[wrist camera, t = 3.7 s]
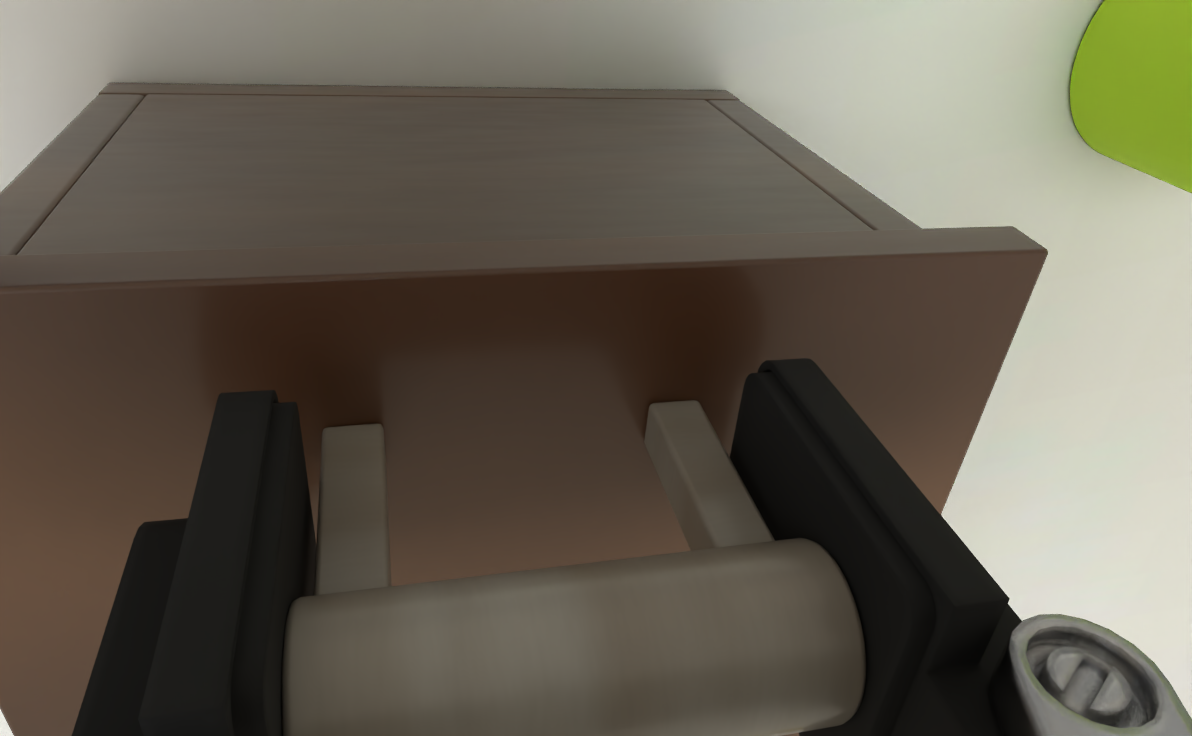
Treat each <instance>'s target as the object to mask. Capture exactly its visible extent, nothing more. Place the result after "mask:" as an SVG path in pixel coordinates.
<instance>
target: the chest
mask: <svg viewBox="0 0 1192 736" xmlns="http://www.w3.org/2000/svg"><path fill="white" fill-rule="evenodd" d="M901 229H921V228H920V227H919V226H917V225H916V224H914V223H913V222H911V221H910V220H909V219H907V218H906V217H904V216H903V215H901V214H900V213H899V212H897V211H896V210H894V209H893V208H892V207H890V206H889V205H887V204H886V203H884V202H883V201H882V200H880V199H879V198H877V197H876V196H875V195H873V194H872V193H870V192H869V191H867V190H866V189H865V188H863V187H862V186H860V185H859V184H857V183H856V182H855V181H853V180H852V179H850V178H849V177H848V176H846V175H845V174H843V173H842V172H840V171H839V170H838V169H836V168H835V167H833V166H832V165H830V164H829V163H828V162H826V161H825V160H823V159H822V158H821V157H819V156H818V155H816V154H815V153H813V152H812V151H811V150H809V149H808V148H806V147H805V146H804V145H802V144H801V143H799V142H798V141H796V140H795V139H794V138H792V137H791V136H789V135H788V134H786V133H785V132H784V131H782V130H781V129H779V128H778V127H777V126H775V125H774V124H772V123H771V122H769V121H768V120H767V119H765V118H764V117H762V116H761V115H760V114H758V113H757V112H755V111H754V110H752V109H751V108H750V107H748V106H747V105H745V104H744V103H742V102H741V101H740V100H739V99H738V98H736V97H735V96H734V95H732V94H731V93H729V92H728V91H721V90H641V89H561V88H482V87H402V86H322V85H242V84H163V83H109V84H107V85H106V86H105V87H104V88H103V89H102V90H101V91H100V92H99V94H98V96H97V97H96V98H95V99H94V100H93V101H92V102H91V103H90V104H89V105H88V106H87V107H86V108H85V109H84V110H83V111H82V112H81V113H80V114H79V115H78V116H77V117H76V118H75V119H74V120H73V121H72V122H71V123H70V124H69V125H68V126H67V127H66V128H65V129H64V130H63V131H62V132H61V133H60V134H59V135H58V136H57V137H56V138H55V139H54V140H53V141H52V142H51V143H50V144H49V145H48V146H47V147H46V148H45V149H44V150H43V151H42V152H41V153H40V154H39V155H38V156H37V157H36V158H35V159H34V160H33V161H32V162H31V163H30V164H29V165H28V166H27V167H26V168H25V169H24V170H23V171H22V172H21V173H20V174H19V175H18V176H17V177H16V178H15V179H14V180H13V181H12V182H11V183H10V184H9V185H8V186H7V187H6V188H5V189H4V190H3V191H2V192H1V193H0V255H34V254H69V253H103V252H138V251H173V250H207V249H242V248H277V247H311V246H346V245H381V244H415V243H450V242H485V241H519V240H554V239H589V238H623V237H658V236H693V235H727V234H762V233H797V232H831V231H866V230H901Z"/></svg>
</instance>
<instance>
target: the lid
mask: <svg viewBox="0 0 1192 736" xmlns="http://www.w3.org/2000/svg"><path fill="white" fill-rule="evenodd" d="M1047 255H1048V251H1047V249H1045V248H1044V247H1042V246H1041V245H1039V244H1038V243H1037V242H1035V241H1034V240H1032V239H1031V238H1029V237H1028V236H1026V235H1025V234H1023V233H1022V232H1021V231H1019V230H1018V229H1016V228H1015V227H1013V226H1005V227H970V228H935V229H901V230H866V231H831V232H797V233H762V234H727V235H693V236H658V237H623V238H589V239H554V240H519V241H485V242H450V243H415V244H381V245H346V246H311V247H277V248H242V249H207V250H173V251H138V252H103V253H69V254H34V255H0V709H1V711H2V713H3V715H4V717H5V719H6V721H7V723H8V725H9V727H10V729H11V731H12V733H13V735H14V736H72V733H73V730H74V727H75V723H76V720H77V717H78V714H79V711H80V708H81V704H82V701H83V698H84V695H85V692H86V689H87V685H88V682H89V679H90V676H91V673H92V669H93V666H94V663H95V660H96V657H97V654H98V650H99V647H100V644H101V641H102V638H103V635H104V631H105V628H106V625H107V622H108V619H109V616H110V612H111V609H112V606H113V603H114V600H115V596H116V593H117V590H118V587H119V584H120V581H121V577H122V574H123V571H124V568H125V565H126V562H127V558H128V555H129V552H130V549H131V546H132V543H133V539H134V537H135V535H136V532H137V530H138V528H139V527H140V526H141V525H142V524H143V523H144V522H151V521H162V520H173V519H184V518H188V516H189V512H190V508H191V504H192V500H193V496H194V492H195V487H196V483H197V479H198V475H199V471H200V467H201V463H202V459H203V455H204V451H205V447H206V443H207V439H208V435H209V431H210V427H211V423H212V419H213V415H214V411H215V407H216V403H217V399H218V396H219V394H221V393H230V392H247V391H263V390H275V391H276V394H277V397H278V402H279V403H284V402H296V403H297V406H298V411H299V418H300V426H301V433H302V441H303V448H304V456H305V463H306V471H307V478H308V486H309V493H310V500H311V508H312V515H313V523H314V530H315V538H316V562H315V582H314V596H305V597H300V598H298V599H296V600H294V601H293V602H292V603H291V606H290V608H289V611H288V615H287V620H286V626H285V633H284V643H283V659H282V734H283V736H799V733H800V732H806V731H811V730H817V729H823V728H828V727H834V726H839V725H842V724H844V723H845V722H847V721H848V720H849V719H851V718H852V717H853V716H854V715H855V713H856V712H857V710H858V708H859V706H860V704H861V701H862V698H863V694H864V689H865V680H866V652H865V644H864V636H863V631H862V625H861V621H860V617H859V613H858V610H857V607H856V603H855V600H854V597H853V595H852V592H851V590H850V587H849V585H848V583H847V581H846V578H845V576H844V575H843V573H842V571H841V569H840V567H839V566H838V564H837V563H836V561H835V560H834V559H833V557H832V556H831V555H830V554H829V553H828V551H827V550H825V549H824V548H823V547H822V546H821V545H819V544H818V543H816V542H814V541H811V540H808V539H805V538H794V539H786V540H778V541H775V540H774V538H773V536H772V534H771V532H770V530H769V529H768V527H767V525H766V523H765V521H764V519H763V518H762V516H761V514H760V512H759V510H758V509H757V507H756V505H755V503H754V501H753V499H752V498H751V496H750V494H749V492H748V490H747V488H746V487H745V485H744V483H743V481H742V479H741V478H740V476H739V474H738V472H737V470H736V468H735V467H734V465H733V463H732V461H731V459H730V453H731V448H732V443H733V438H734V433H735V428H736V423H737V417H738V412H739V407H740V402H741V397H742V392H743V387H744V383H745V380H746V378H747V376H748V375H749V374H751V373H757V372H758V369H759V367H760V365H761V364H762V363H763V362H765V361H766V360H783V359H800V358H808V359H811V360H813V361H814V362H815V363H816V364H817V365H818V367H819V368H820V369H821V370H822V371H823V373H824V374H825V375H826V376H827V378H828V379H829V380H830V381H831V382H832V384H833V385H834V386H835V387H836V388H837V390H838V391H839V392H840V393H841V395H842V396H843V397H844V398H845V399H846V401H847V402H848V403H849V404H850V405H851V407H852V408H853V409H854V410H855V412H856V413H857V414H858V415H859V416H860V418H861V419H862V420H863V421H864V422H865V424H866V425H867V426H868V427H869V429H870V430H871V431H872V432H873V433H874V435H875V436H876V437H877V438H878V440H879V441H880V442H881V443H882V444H883V446H884V447H885V448H886V449H887V450H888V452H889V453H890V454H891V455H892V457H893V458H894V459H895V460H896V461H897V463H898V464H899V465H900V466H901V467H902V469H903V470H904V471H905V472H906V474H907V475H908V476H909V477H910V478H911V480H912V481H913V482H914V483H915V484H916V486H917V487H918V488H919V489H920V491H921V492H922V493H923V494H924V495H925V497H926V498H927V499H928V500H929V502H930V503H931V504H932V505H933V506H934V508H935V509H936V510H937V511H938V512H939V514H940V515H941V513H942V511H943V508H944V506H945V503H946V501H947V498H948V496H949V494H950V491H951V489H952V486H953V484H954V481H955V479H956V477H957V474H958V472H959V469H960V467H961V464H962V462H963V459H964V457H965V455H966V452H967V450H968V447H969V445H970V442H971V440H972V437H973V435H974V433H975V430H976V428H977V425H978V423H979V420H980V418H981V416H982V413H983V411H984V408H985V406H986V403H987V401H988V398H989V396H990V394H991V391H992V389H993V386H994V384H995V381H996V379H997V377H998V374H999V372H1000V369H1001V367H1002V364H1003V362H1004V359H1005V357H1006V355H1007V352H1008V350H1009V347H1010V345H1011V342H1012V340H1013V337H1014V335H1015V333H1016V330H1017V328H1018V325H1019V323H1020V320H1021V318H1022V316H1023V313H1024V311H1025V308H1026V306H1027V303H1028V301H1029V298H1030V296H1031V294H1032V291H1033V289H1034V286H1035V284H1036V281H1037V279H1038V277H1039V274H1040V272H1041V269H1042V267H1043V264H1044V262H1045V259H1046V257H1047Z"/></svg>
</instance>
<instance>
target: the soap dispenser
mask: <svg viewBox="0 0 1192 736" xmlns="http://www.w3.org/2000/svg"><path fill="white" fill-rule="evenodd" d="M1070 105H1071V112H1072V116H1073V120H1074V123H1075V125H1076V128H1077V130H1078V132H1079V134H1080V135H1081V137H1082V138H1083V139H1084V141H1085V142H1086V143H1087V144H1088V145H1089V146H1090V147H1091V148H1093V149H1094V150H1095V151H1097V152H1099V153H1100V154H1102V155H1105V156H1107V157H1109V158H1112V159H1114V160H1116V161H1119V162H1121V163H1123V164H1125V165H1128V166H1130V167H1132V168H1135V169H1137V170H1139V171H1142V172H1144V173H1146V174H1149V175H1151V176H1153V177H1155V178H1158V179H1160V180H1162V181H1165V182H1167V183H1169V184H1172V185H1174V186H1176V187H1179V188H1181V189H1183V190H1185V191H1188V192H1190V193H1192V0H1104V2H1103V3H1102V5H1101V6H1100V8H1099V9H1098V11H1097V12H1096V14H1095V15H1094V17H1093V19H1092V21H1091V22H1090V24H1089V26H1088V28H1087V30H1086V32H1085V34H1084V37H1083V39H1082V41H1081V44H1080V46H1079V49H1078V52H1077V55H1076V58H1075V62H1074V66H1073V70H1072V76H1071V84H1070Z"/></svg>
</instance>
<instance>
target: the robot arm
mask: <svg viewBox="0 0 1192 736" xmlns="http://www.w3.org/2000/svg"><path fill="white" fill-rule="evenodd" d="M730 459H731V461H732V463H733V465H734V467H735V468H736V470H737V472H738V474H739V476H740V478H741V479H742V481H743V483H744V485H745V487H746V488H747V490H748V492H749V494H750V496H751V498H752V499H753V501H754V503H755V505H756V507H757V509H758V510H759V512H760V514H761V516H762V518H763V519H764V521H765V523H766V525H767V527H768V529H769V530H770V532H771V534H772V536H773V538H774V540H775V541H778V540H786V539H794V538H805V539H808V540H811V541H814V542H816V543H818V544H819V545H821V546H822V547H823V548H824V549H825V550H827V551H828V553H829V554H830V555H831V556H832V557H833V559H834V560H835V561H836V563H837V564H838V566H839V567H840V569H841V571H842V573H843V575H844V576H845V578H846V581H847V583H848V585H849V587H850V590H851V592H852V595H853V597H854V600H855V603H856V607H857V610H858V613H859V617H860V621H861V625H862V631H863V636H864V644H865V652H866V680H865V689H864V694H863V698H862V701H861V704H860V706H859V708H858V710H857V712H856V713H855V715H854V716H853V717H852V718H851V719H849V720H848V721H847V722H845V723H844V724H842V725H839V726H834V727H828V728H823V729H817V730H811V731H806V732H800V733H799V736H1192V719H1191V717H1190V716H1189V714H1188V712H1187V711H1186V709H1185V707H1184V706H1183V704H1182V702H1181V701H1180V699H1179V697H1178V696H1177V694H1176V692H1175V691H1174V689H1173V687H1172V686H1171V684H1170V682H1169V681H1168V680H1167V679H1166V677H1165V676H1164V675H1163V673H1162V672H1161V671H1160V669H1159V668H1158V667H1157V666H1156V664H1155V663H1154V662H1153V661H1152V660H1151V659H1150V658H1148V657H1147V656H1146V655H1145V654H1144V653H1143V652H1142V651H1140V650H1139V649H1138V648H1137V647H1136V646H1135V645H1134V644H1132V643H1130V642H1129V641H1127V640H1126V639H1124V638H1122V637H1121V636H1119V635H1117V634H1116V633H1114V632H1113V631H1111V630H1109V629H1107V628H1104V627H1102V626H1100V625H1097V624H1095V623H1092V622H1090V621H1087V620H1085V619H1081V618H1076V617H1071V616H1066V615H1062V614H1048V615H1037V616H1034V617H1031V618H1029V619H1026V620H1023V621H1021V620H1020V618H1019V617H1018V616H1017V615H1016V613H1015V612H1014V611H1013V610H1012V608H1011V607H1010V606H1009V605H1008V604H1007V603H1008V601H1009V598H1008V596H1007V595H1006V594H1005V593H1004V591H1003V590H1002V589H1001V588H1000V587H999V585H998V584H997V583H996V582H995V581H994V579H993V578H992V577H991V576H990V574H989V573H988V572H987V571H986V570H985V568H984V567H983V566H982V565H981V563H980V562H979V561H978V560H977V559H976V557H975V556H974V555H973V554H972V553H971V551H970V550H969V549H968V548H967V546H966V545H965V544H964V543H963V542H962V540H961V539H960V538H959V537H958V536H957V534H956V533H955V532H954V531H953V529H952V528H951V527H950V526H949V525H948V523H947V522H946V521H945V520H944V519H943V517H942V516H941V515H940V514H939V512H938V511H937V510H936V509H935V508H934V506H933V505H932V504H931V503H930V502H929V500H928V499H927V498H926V497H925V495H924V494H923V493H922V492H921V491H920V489H919V488H918V487H917V486H916V484H915V483H914V482H913V481H912V480H911V478H910V477H909V476H908V475H907V474H906V472H905V471H904V470H903V469H902V467H901V466H900V465H899V464H898V463H897V461H896V460H895V459H894V458H893V457H892V455H891V454H890V453H889V452H888V450H887V449H886V448H885V447H884V446H883V444H882V443H881V442H880V441H879V440H878V438H877V437H876V436H875V435H874V433H873V432H872V431H871V430H870V429H869V427H868V426H867V425H866V424H865V422H864V421H863V420H862V419H861V418H860V416H859V415H858V414H857V413H856V412H855V410H854V409H853V408H852V407H851V405H850V404H849V403H848V402H847V401H846V399H845V398H844V397H843V396H842V395H841V393H840V392H839V391H838V390H837V388H836V387H835V386H834V385H833V384H832V382H831V381H830V380H829V379H828V378H827V376H826V375H825V374H824V373H823V371H822V370H821V369H820V368H819V367H818V365H817V364H816V363H815V362H814V361H813V360H811V359H808V358H800V359H783V360H766V361H765V362H763V363H762V364H761V365H760V367H759V369H758V372H757V373H751V374H749V375H748V376H747V378H746V380H745V383H744V387H743V392H742V397H741V402H740V407H739V412H738V417H737V423H736V428H735V433H734V438H733V443H732V448H731V453H730ZM315 562H316V538H315V530H314V523H313V515H312V508H311V500H310V493H309V486H308V478H307V471H306V463H305V456H304V448H303V441H302V433H301V426H300V418H299V411H298V406H297V403H296V402H284V403H279V402H278V397H277V394H276V391H275V390H263V391H247V392H230V393H221V394H219V396H218V399H217V403H216V407H215V411H214V415H213V419H212V423H211V427H210V431H209V435H208V439H207V443H206V447H205V451H204V455H203V459H202V463H201V467H200V471H199V475H198V479H197V483H196V487H195V492H194V496H193V500H192V504H191V508H190V512H189V516H188V518H184V519H173V520H162V521H151V522H144V523H143V524H142V525H141V526H140V527H139V528H138V530H137V532H136V535H135V537H134V539H133V543H132V546H131V549H130V552H129V555H128V558H127V562H126V565H125V568H124V571H123V574H122V577H121V581H120V584H119V587H118V590H117V593H116V596H115V600H114V603H113V606H112V609H111V612H110V616H109V619H108V622H107V625H106V628H105V631H104V635H103V638H102V641H101V644H100V647H99V650H98V654H97V657H96V660H95V663H94V666H93V669H92V673H91V676H90V679H89V682H88V685H87V689H86V692H85V695H84V698H83V701H82V704H81V708H80V711H79V714H78V717H77V720H76V723H75V727H74V730H73V733H72V736H283V734H282V659H283V643H284V633H285V626H286V620H287V615H288V611H289V608H290V606H291V603H292V602H293V601H294V600H296V599H298V598H300V597H305V596H314V582H315Z"/></svg>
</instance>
